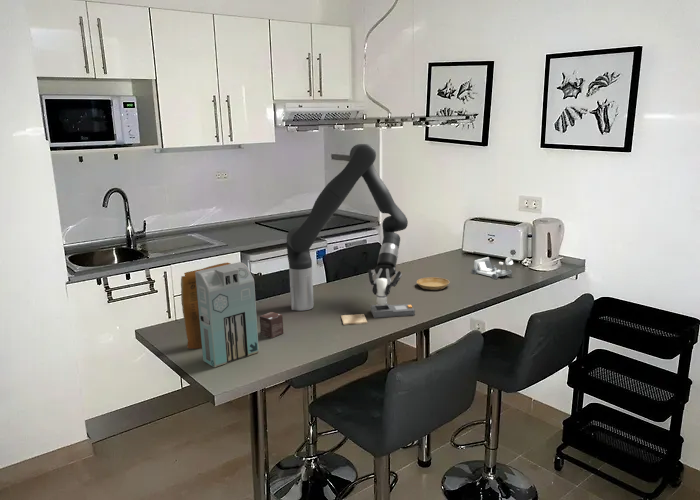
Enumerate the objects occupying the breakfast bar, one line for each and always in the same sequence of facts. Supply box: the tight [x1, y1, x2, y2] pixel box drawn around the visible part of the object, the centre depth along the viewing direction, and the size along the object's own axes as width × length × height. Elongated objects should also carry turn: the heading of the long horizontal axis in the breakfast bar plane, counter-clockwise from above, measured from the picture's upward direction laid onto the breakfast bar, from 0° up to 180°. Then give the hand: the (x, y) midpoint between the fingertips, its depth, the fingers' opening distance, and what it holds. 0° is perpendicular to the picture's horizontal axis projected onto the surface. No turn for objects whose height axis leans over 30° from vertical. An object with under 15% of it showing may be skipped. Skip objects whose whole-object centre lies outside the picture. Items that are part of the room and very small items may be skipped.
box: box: [259, 311, 284, 339], centre depth 202 cm, size 6×6×7 cm
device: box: [195, 261, 260, 368], centre depth 180 cm, size 16×8×30 cm, turn 133°
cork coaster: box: [340, 313, 368, 326], centre depth 215 cm, size 9×9×1 cm
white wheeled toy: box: [471, 256, 514, 280], centre depth 270 cm, size 18×10×12 cm
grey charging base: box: [370, 303, 416, 319], centre depth 221 cm, size 16×8×3 cm, turn 97°
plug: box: [376, 278, 388, 305], centre depth 219 cm, size 4×4×10 cm
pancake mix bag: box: [180, 262, 232, 350], centre depth 192 cm, size 7×19×28 cm, turn 127°
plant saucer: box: [416, 276, 450, 291], centre depth 255 cm, size 15×15×3 cm
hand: (380, 294), depth 217 cm, fingers closed on plug, 4 cm apart
